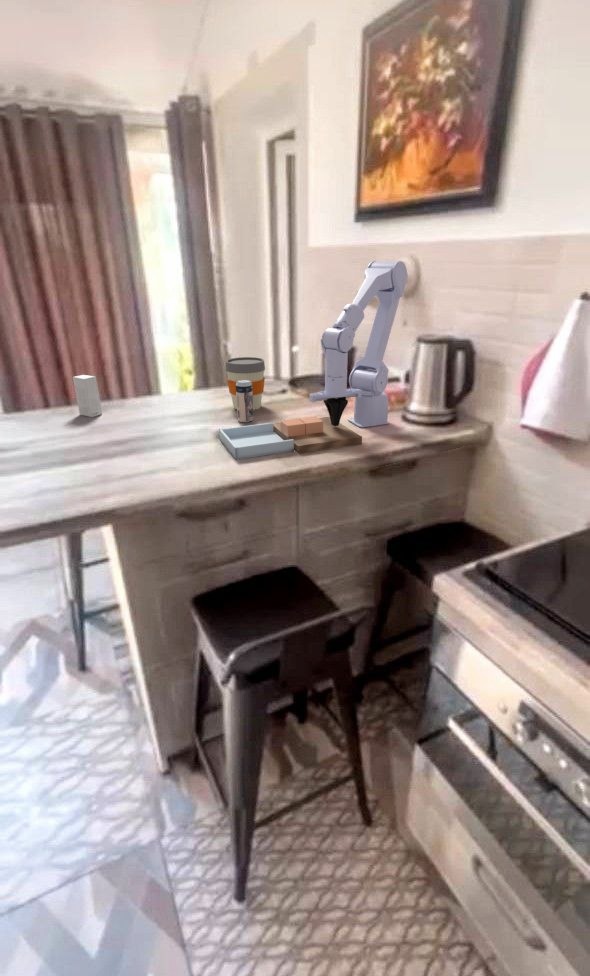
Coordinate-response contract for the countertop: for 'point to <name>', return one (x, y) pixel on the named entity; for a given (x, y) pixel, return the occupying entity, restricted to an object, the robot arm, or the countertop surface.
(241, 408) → the beer can
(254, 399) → the reusable coffee cup
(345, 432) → the board
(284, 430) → the tile
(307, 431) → the tile
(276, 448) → the tray
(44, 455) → the countertop surface
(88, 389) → the skincare box
